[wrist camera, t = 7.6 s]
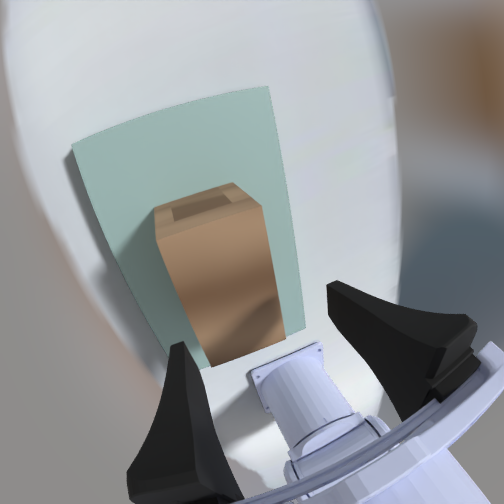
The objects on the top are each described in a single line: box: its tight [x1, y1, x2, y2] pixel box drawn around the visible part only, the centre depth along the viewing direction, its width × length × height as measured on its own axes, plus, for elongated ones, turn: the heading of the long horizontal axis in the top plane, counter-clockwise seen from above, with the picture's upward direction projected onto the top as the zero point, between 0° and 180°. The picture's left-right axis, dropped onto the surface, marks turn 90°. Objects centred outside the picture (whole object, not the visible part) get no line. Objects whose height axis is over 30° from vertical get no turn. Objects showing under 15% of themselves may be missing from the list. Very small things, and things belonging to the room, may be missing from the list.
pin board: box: [72, 86, 306, 370], centre depth 19 cm, size 20×12×4 cm, turn 13°
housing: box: [154, 182, 286, 367], centre depth 17 cm, size 9×5×5 cm, turn 12°
